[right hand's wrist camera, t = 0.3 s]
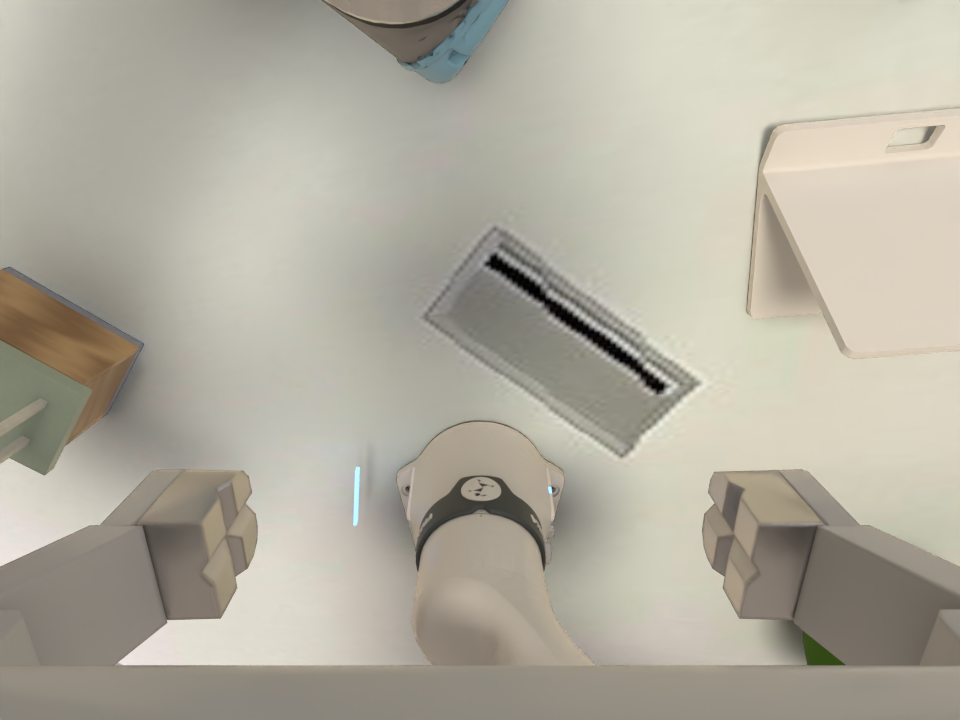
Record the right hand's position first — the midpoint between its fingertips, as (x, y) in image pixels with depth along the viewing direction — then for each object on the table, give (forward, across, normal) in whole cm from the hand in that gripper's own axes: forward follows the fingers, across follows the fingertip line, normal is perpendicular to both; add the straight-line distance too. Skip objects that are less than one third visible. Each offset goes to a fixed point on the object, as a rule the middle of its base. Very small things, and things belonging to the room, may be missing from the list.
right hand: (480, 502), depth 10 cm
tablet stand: (+48, +38, -1) cm, 61 cm away
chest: (+48, -43, -14) cm, 66 cm away
